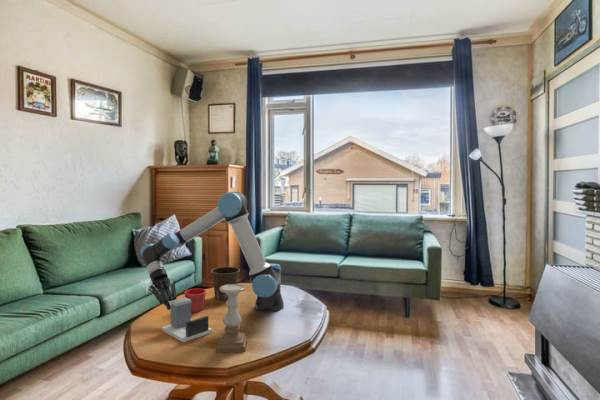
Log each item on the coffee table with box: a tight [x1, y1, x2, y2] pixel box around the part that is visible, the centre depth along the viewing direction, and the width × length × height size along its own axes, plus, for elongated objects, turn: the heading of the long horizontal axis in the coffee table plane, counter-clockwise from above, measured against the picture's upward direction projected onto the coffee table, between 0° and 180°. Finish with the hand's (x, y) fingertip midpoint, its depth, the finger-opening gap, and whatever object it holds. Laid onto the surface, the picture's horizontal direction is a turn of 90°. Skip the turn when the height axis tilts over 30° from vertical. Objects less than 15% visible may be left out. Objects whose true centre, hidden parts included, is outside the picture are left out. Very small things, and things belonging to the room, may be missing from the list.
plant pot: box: [210, 266, 241, 302], centre depth 204 cm, size 16×16×16 cm
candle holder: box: [216, 283, 248, 354], centre depth 142 cm, size 11×11×24 cm
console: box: [161, 315, 213, 343], centre depth 157 cm, size 18×14×8 cm
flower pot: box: [184, 288, 207, 313], centre depth 184 cm, size 11×11×10 cm
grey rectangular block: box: [170, 296, 192, 328], centre depth 160 cm, size 5×7×11 cm
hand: (174, 314), depth 163 cm, fingers closed
